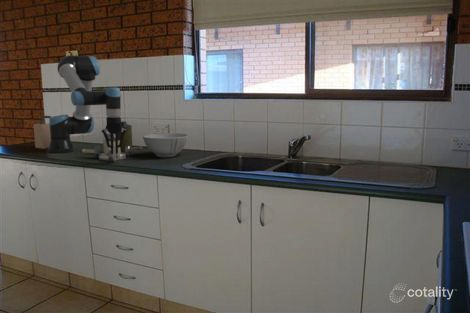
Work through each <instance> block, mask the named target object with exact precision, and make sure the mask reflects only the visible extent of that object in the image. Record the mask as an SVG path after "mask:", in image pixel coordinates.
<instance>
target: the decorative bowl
mask: <svg viewBox="0 0 470 313" xmlns="http://www.w3.org/2000/svg"><path fill="white" fill-rule="evenodd" d="M142 138H143V142H144V144H145V146H146V147H147V149H148V150H149V151H150V152H151V153H153V154H155V155H156V156H155V157H158V158H171V157H176V156H177V155H178V153H180V152H181V151H182V150H183V149H184V148H185V146H186V145H187V142H188V140H189V134H187V133H179V132H164V133H163V132H158V133H150V134H145V135H143V136H142Z"/></svg>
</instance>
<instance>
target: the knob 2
mask: <svg viewBox="0 0 470 313" xmlns="http://www.w3.org/2000/svg"><path fill="white" fill-rule="evenodd" d="M143 150H144V148H143V146H142V145H140V146H134V147H133V148H130V145H126V146H125V153H126V157H130V156H132V154H131V153H130V151H133V152H135V151H143Z"/></svg>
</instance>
